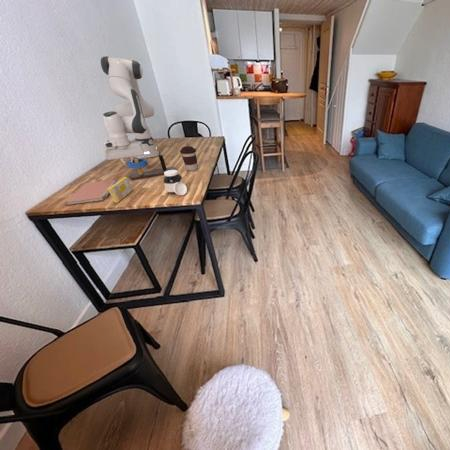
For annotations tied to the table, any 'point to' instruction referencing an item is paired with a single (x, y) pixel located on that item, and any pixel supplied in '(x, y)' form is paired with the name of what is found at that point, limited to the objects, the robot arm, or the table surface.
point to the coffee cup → (189, 157)
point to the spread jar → (174, 183)
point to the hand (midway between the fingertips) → (129, 164)
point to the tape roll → (137, 164)
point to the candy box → (120, 189)
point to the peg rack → (150, 173)
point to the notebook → (91, 192)
